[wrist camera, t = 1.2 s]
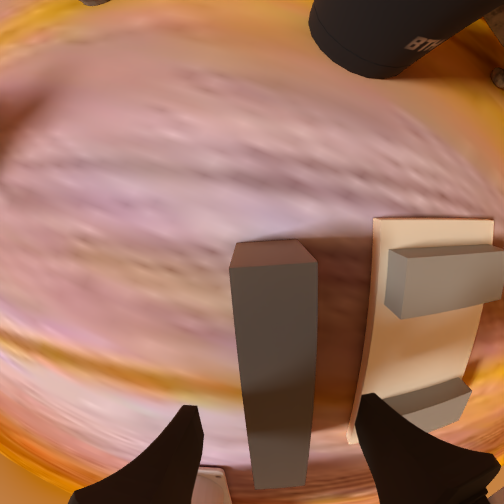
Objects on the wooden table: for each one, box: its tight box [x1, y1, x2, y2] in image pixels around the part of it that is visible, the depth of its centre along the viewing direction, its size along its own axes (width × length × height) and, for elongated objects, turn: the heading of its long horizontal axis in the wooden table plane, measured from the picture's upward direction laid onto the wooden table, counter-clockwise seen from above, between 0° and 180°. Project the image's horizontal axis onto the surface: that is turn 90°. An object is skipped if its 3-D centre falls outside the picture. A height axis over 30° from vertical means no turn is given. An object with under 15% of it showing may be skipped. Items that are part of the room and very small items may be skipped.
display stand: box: [346, 218, 504, 445], centre depth 14 cm, size 16×9×3 cm, turn 2°
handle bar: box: [229, 239, 318, 489], centre depth 13 cm, size 14×3×5 cm, turn 4°
